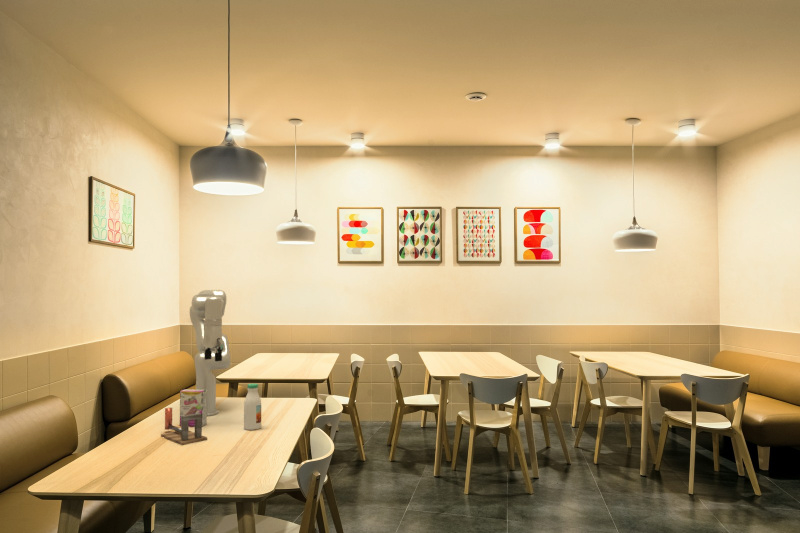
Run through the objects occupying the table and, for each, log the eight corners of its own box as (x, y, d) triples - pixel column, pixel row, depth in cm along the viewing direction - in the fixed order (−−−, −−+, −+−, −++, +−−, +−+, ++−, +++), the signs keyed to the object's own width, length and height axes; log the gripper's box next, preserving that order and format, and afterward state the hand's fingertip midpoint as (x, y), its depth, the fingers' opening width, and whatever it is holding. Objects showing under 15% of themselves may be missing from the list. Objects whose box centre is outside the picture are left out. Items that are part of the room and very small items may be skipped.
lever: (163, 428, 247) (163, 408, 248) (170, 427, 250) (170, 407, 250) (181, 435, 235) (181, 414, 236) (188, 434, 238) (188, 413, 238)
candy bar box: (179, 426, 257) (179, 390, 258) (184, 424, 262) (184, 389, 263) (202, 427, 256) (202, 391, 257) (207, 424, 261) (207, 389, 262)
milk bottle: (250, 431, 248) (251, 386, 249) (240, 428, 253) (240, 384, 253) (264, 427, 254) (265, 383, 255) (254, 425, 259) (254, 382, 260)
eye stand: (160, 436, 240) (161, 411, 240) (185, 431, 248) (185, 407, 248) (181, 445, 226) (182, 418, 227) (207, 439, 234) (207, 413, 235)
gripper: (197, 323, 264) (196, 359, 263) (215, 324, 252) (214, 362, 251) (211, 322, 269) (211, 357, 268) (230, 323, 257) (229, 361, 256)
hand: (213, 360), depth 260 cm, fingers open, 9 cm apart
